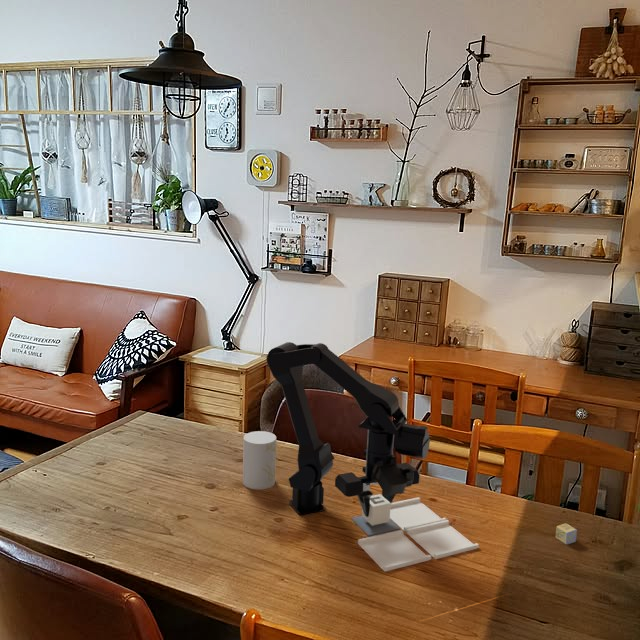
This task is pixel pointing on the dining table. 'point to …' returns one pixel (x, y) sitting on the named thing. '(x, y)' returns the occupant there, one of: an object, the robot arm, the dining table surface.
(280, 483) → the dining table surface
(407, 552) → the tray
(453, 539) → the tray
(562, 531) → the alphabet block
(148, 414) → the dining table surface
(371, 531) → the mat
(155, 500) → the dining table surface
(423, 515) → the tray
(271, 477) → the white cylinder
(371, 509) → the letter cube
